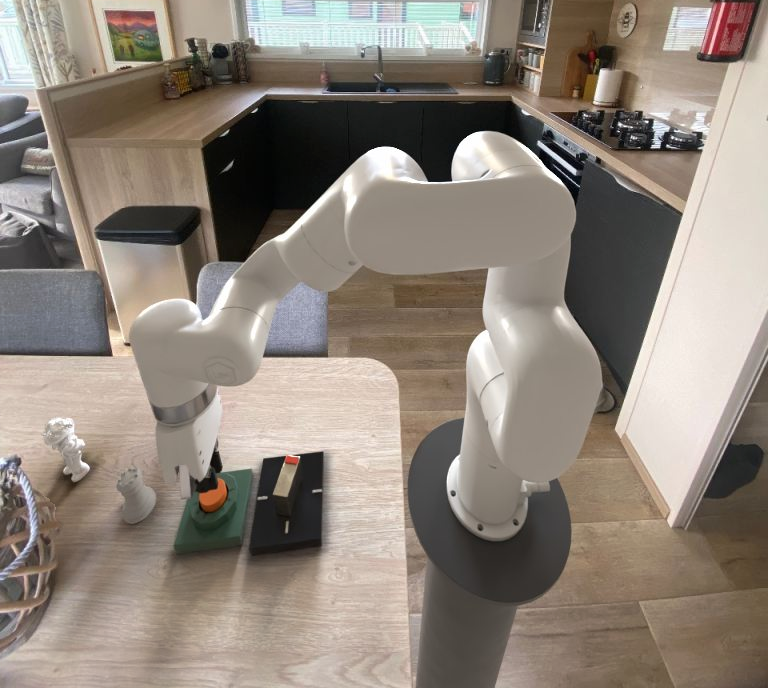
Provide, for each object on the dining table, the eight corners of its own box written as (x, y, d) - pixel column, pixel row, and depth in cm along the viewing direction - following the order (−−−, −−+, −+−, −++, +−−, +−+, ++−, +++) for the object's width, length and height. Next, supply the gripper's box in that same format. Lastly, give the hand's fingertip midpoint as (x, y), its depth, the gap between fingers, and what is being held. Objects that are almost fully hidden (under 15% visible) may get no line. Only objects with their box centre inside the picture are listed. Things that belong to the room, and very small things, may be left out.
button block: (253, 476, 64) (250, 461, 63) (242, 544, 56) (238, 529, 54) (196, 483, 63) (192, 468, 62) (176, 554, 55) (170, 538, 53)
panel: (324, 458, 67) (323, 450, 66) (322, 546, 56) (321, 537, 55) (264, 465, 66) (263, 457, 65) (250, 556, 55) (248, 548, 54)
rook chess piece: (118, 528, 58) (103, 495, 55) (131, 494, 62) (118, 462, 59) (150, 522, 58) (137, 490, 55) (161, 489, 62) (150, 457, 59)
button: (229, 483, 60) (227, 476, 59) (223, 510, 57) (221, 503, 56) (205, 486, 60) (203, 479, 59) (197, 514, 56) (195, 507, 56)
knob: (290, 517, 57) (287, 495, 55) (276, 514, 58) (272, 493, 56) (302, 476, 62) (300, 455, 60) (289, 474, 63) (286, 453, 61)
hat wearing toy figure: (104, 473, 64) (83, 424, 60) (77, 496, 61) (53, 447, 57) (76, 445, 69) (54, 398, 64) (50, 466, 65) (25, 418, 61)
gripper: (176, 344, 56) (199, 429, 63) (122, 459, 42) (159, 552, 49) (230, 340, 57) (246, 424, 64) (195, 450, 42) (221, 543, 50)
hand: (208, 479), depth 56 cm, fingers closed
